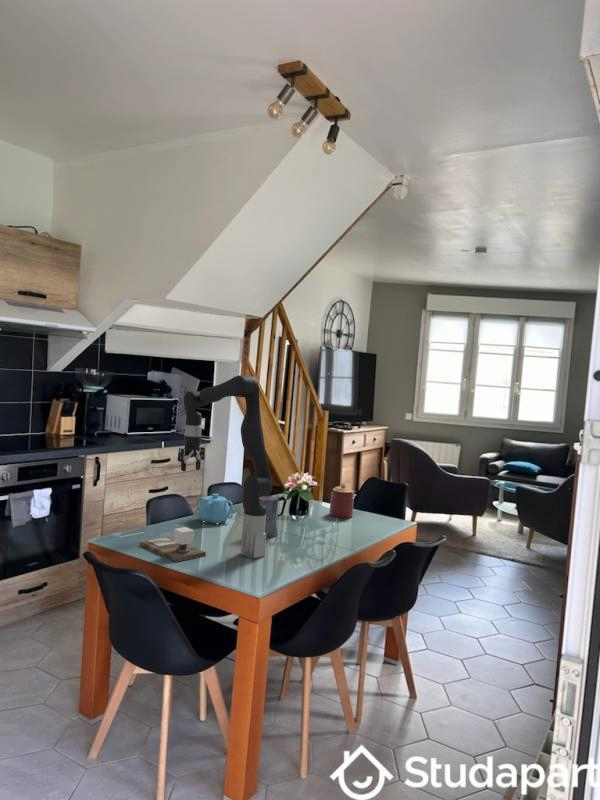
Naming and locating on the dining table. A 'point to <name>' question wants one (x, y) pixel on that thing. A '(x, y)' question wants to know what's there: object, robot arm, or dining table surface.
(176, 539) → the white cube
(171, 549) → the post board
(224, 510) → the decorative pot
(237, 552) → the dining table surface
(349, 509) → the canister
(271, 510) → the moka pot
